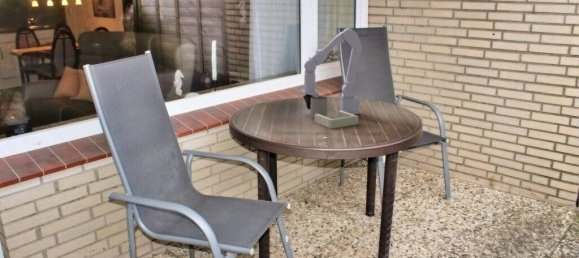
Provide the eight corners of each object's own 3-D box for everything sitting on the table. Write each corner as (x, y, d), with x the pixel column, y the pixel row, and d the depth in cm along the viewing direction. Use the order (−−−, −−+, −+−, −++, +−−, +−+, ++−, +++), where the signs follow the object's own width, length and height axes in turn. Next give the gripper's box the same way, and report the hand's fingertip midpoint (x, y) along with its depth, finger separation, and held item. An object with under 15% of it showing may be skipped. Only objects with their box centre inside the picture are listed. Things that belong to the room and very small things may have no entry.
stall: (340, 117, 246) (340, 110, 245) (358, 124, 235) (358, 116, 234) (314, 122, 238) (314, 114, 237) (331, 128, 227) (331, 120, 226)
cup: (325, 119, 244) (326, 99, 241) (309, 118, 246) (309, 99, 243) (327, 115, 252) (328, 96, 249) (312, 114, 254) (312, 95, 251)
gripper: (296, 82, 256) (295, 107, 259) (311, 86, 244) (310, 112, 247) (307, 80, 259) (306, 105, 263) (322, 85, 247) (322, 110, 251)
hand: (309, 108), depth 255 cm, fingers closed
